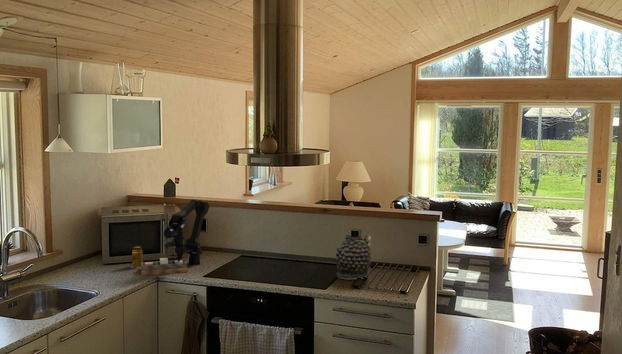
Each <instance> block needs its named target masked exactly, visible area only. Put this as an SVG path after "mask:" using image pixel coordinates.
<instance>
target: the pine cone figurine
mask: <svg viewBox="0 0 622 354" xmlns="http://www.w3.org/2000/svg"><path fill="white" fill-rule="evenodd" d="M371 241H372V237H371V236H370V235H366V236H364V239H363V238H362V236H360V235H358V236H353V234H352V236H351V235H348V234H345V238H344V239H343V240H342V242H341V243H340V244H339V245H338V247H337V249H336V253H335V260H336V268H337V269H338V271H337V272H336V276H337V278H338V279H343V280H358V279H357V278H361V279H364V278H363V277H366V278H368V277H369V272H368V271H369V268H370V264H371V261H370V260H371V256H372V255H371V248H370V247H371V244H372V243H371ZM367 276H368V277H367Z"/></svg>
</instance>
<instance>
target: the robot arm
mask: <svg viewBox="0 0 622 354" xmlns="http://www.w3.org/2000/svg"><path fill="white" fill-rule="evenodd" d="M209 210H210V203H209V202H208V201H201V200H199V199H191V200H190V201H189V202H188V203H187V204H186V205H185V206H184V207H183V208H182V209H181V210H180V211H176V212H175V213H173V214H172V216H171V217H170V220H169V222H168V226H166V228H165V229H164V231H163V237H165V238H166V239H169V240H166V241H164V242H163V245H164V248H165V250H166V249H169V248H171V247H172V250H173V252H174V254H175V255H176V260H178V261H180V260H182V257H183V255H184V253H185V254H187V264H189V265H190V266H193V265H201V255H202V254H203V251H204V250H203V249H202V247H201V242H200V241H201V240H200V234H201V230H202V226H203V222H204V218H205V216H206V215H207V214H208V212H209ZM193 211H194V213H195V218H194V222H193V225H192V230H191V234H190V237H189V238H187V239H186V242H185V243H184V240H185V237H184V228H186V225H185V222H186V221H187V217H188V216H189V215H190V214H191V213H192V212H193Z"/></svg>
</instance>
